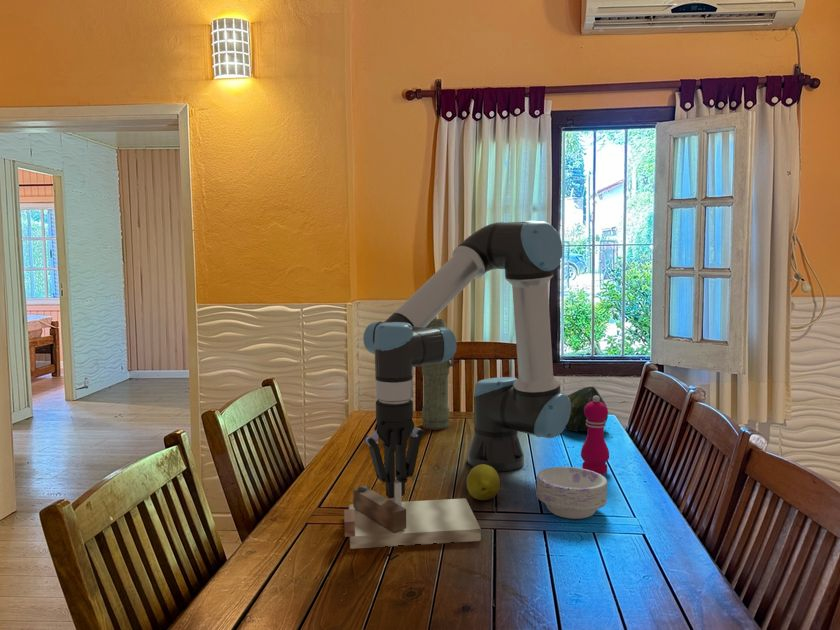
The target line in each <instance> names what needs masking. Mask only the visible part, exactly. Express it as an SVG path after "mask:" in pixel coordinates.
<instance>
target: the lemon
mask: <svg viewBox="0 0 840 630" xmlns="http://www.w3.org/2000/svg"><path fill="white" fill-rule="evenodd" d="M465 480H466V482H465V483H466V488H467V490H468V493H469V494H470V496H471V497H472V498H474V499H475V500H478V501H488V500H491V499H493V498H495V497H496V496H497V494H498V493H499V491H500V488H501V483H500V482H501V481H500V476H499V474H498V471H496V470H495V469H494V468H493V467H491V466H489V465H485V464H481V465H477V466H475V467H472V468H471V469H470V470H469V473H468V474H467V476H466V479H465Z"/></svg>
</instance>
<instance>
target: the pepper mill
mask: <svg viewBox="0 0 840 630" xmlns="http://www.w3.org/2000/svg"><path fill="white" fill-rule="evenodd" d="M599 401H600V398H599V396H594V397H593V401H592V402H589V403H588V404H586V406H585V408H584V414H585V416H586V417H587V419H586V425H587V427H588V431H587V435H586V437H585V440H584V443H583V445H582V446H581V450H580V457H581V459H582V460H583V462H582V466H581V468H582V469H587V470H591V471H594V472H597V473H599V474H601V475H602V476H603V475H605V474H607V472H608V465H607V462H608V461H609V459H610V449H609V447H608V445H607V443H606V440H605V437H604V429H605V427H606V426H607V425H606V424H605V423H607V421H605V418H606V417H607V415H608V416H609V410H608V406H607V405H605V404H606V403H605V404H604V403H602V402H599ZM606 406H607V407H606Z"/></svg>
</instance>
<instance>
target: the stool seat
mask: <svg viewBox="0 0 840 630" xmlns="http://www.w3.org/2000/svg"><path fill="white" fill-rule="evenodd" d="M402 507H403V508H405V509H406V529H403V530H400V531H396V532H393V531H391V530H389V529H388V528H386V527H384V526H383V525H381V524H380V523H378V522H376V521H375V520H373V519H372V518H370V517H368V516H367V515H365V514H363V513H362V512H360V511H359V510H357V509H355V508H354V507H353V503H351V504H348V509H344V510H343V512H344V513H343V516H344V537H346V538H347V537H349V549H350V550H351V549H353V550H355V549H369V548H385V546H388V547H399V546H398V545H404V546H415V544H421V545H432V544H433V543H437V544H450V543H451V542H454V543H468V542H481V541H482V538H481V537H482V535H481V534H482V528H481V527H480V524H479V522H478V520H477V519H476V516H475V514H474V512H473V510H472V508H471V506H470V505H469V502H468V500H467V498H463V497H462V498H450V499H449V498H448V499H429V500H427V499H426V500H410V501H408V500H407V501H402ZM433 545H434V544H433Z"/></svg>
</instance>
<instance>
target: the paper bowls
mask: <svg viewBox="0 0 840 630" xmlns="http://www.w3.org/2000/svg"><path fill="white" fill-rule="evenodd" d="M536 498H538V500H539V501H541V502H542V503H544V504H545V506H546V508H547V510H548V511H549V512H550V513H552V514H553V515H555V516H557V517H561V518H565V519H568V520H569V519H570V520H581V519H586V518H589V517H592V516H593V515H594V514H595V513H596V511H597V510H598V509H601V508H604V506H606V504H607V502H608V480H607V478H606V477H605V476H604V475H603V474H602V475H601V474H599V473H597V472H594V471H591V470H587V469H582V467H576V466H575V467H574V466H573V467H572V466H553V467H546V468H544V469H542V470H540V471H539V472H538V473H537V474H536Z"/></svg>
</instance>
